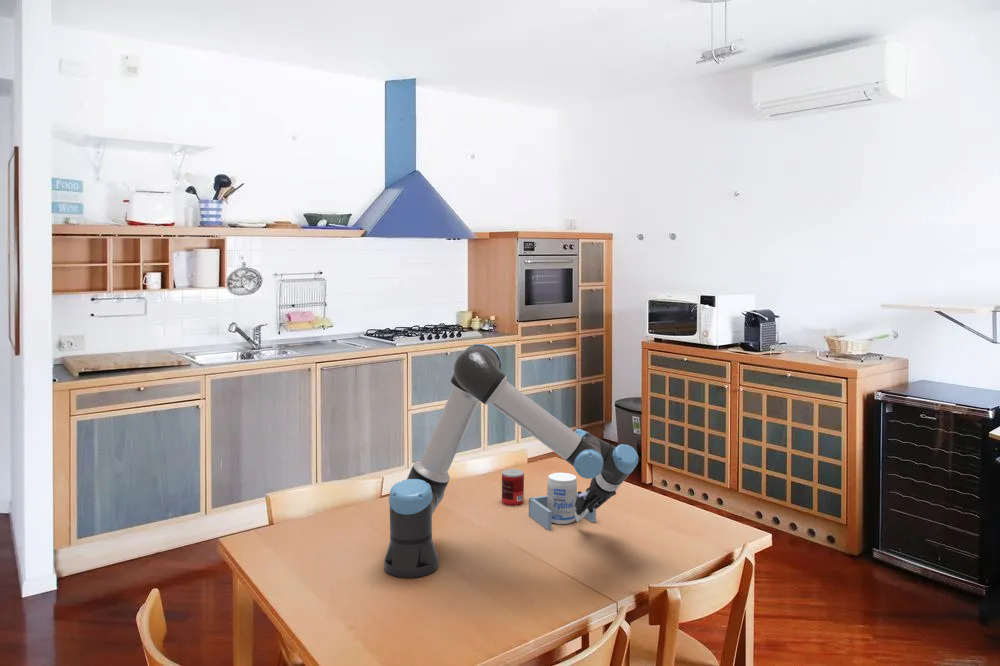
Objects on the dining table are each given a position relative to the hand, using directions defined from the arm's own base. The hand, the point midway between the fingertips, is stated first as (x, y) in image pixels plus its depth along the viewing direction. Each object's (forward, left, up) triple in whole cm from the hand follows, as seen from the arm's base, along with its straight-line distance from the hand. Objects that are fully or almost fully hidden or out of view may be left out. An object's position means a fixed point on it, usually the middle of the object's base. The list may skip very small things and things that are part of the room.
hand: (577, 517), depth 237 cm
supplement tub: (+8, +6, -4) cm, 11 cm away
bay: (+8, +6, -4) cm, 11 cm away
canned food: (+21, +25, -4) cm, 33 cm away
